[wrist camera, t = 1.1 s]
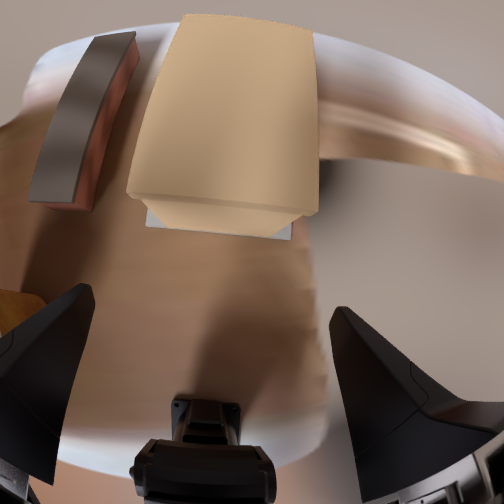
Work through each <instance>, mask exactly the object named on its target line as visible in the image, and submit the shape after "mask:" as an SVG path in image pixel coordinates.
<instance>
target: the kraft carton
mask: <svg viewBox="0 0 504 504" xmlns="http://www.w3.org/2000/svg"><path fill="white" fill-rule="evenodd" d="M126 193H127V194H128V195H129V196H130V197H131V198H132V199H141V200H142V201H143V203H144V204H145V205H146V206H147V207H148V208H149V209H150V210H151V211H152V212H153V213H154V214H155V215H156V216H157V217H158V219H159V220H160V221H161V222H162V223H163V224H164V225H165V226H166V227H168V228H179V229H190V230H201V231H211V232H221V233H232V234H242V235H251V236H261V237H270V236H272V235H273V234H275V233H276V232H278V231H279V230H281V229H282V228H284V227H285V226H287V225H288V224H290V223H291V222H293V221H294V220H296V219H297V218H299V217H300V216H302V215H303V216H312V215H313V214H315V213H317V212H318V203H319V126H318V99H317V81H316V66H315V53H314V42H313V32H312V30H309V29H305V28H301V27H296V26H292V25H288V24H283V23H278V22H272V21H266V20H260V19H253V18H246V17H245V18H244V17H237V16H225V15H209V14H184V17H183V19H182V21H181V23H180V25H179V27H178V29H177V31H176V33H175V35H174V38H173V40H172V42H171V45H170V47H169V49H168V52H167V54H166V56H165V59H164V61H163V64H162V66H161V69H160V72H159V74H158V77H157V80H156V83H155V85H154V88H153V91H152V94H151V97H150V100H149V103H148V106H147V109H146V113H145V116H144V119H143V123H142V126H141V130H140V133H139V137H138V141H137V144H136V148H135V152H134V157H133V161H132V165H131V170H130V174H129V179H128V184H127V189H126Z"/></svg>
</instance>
